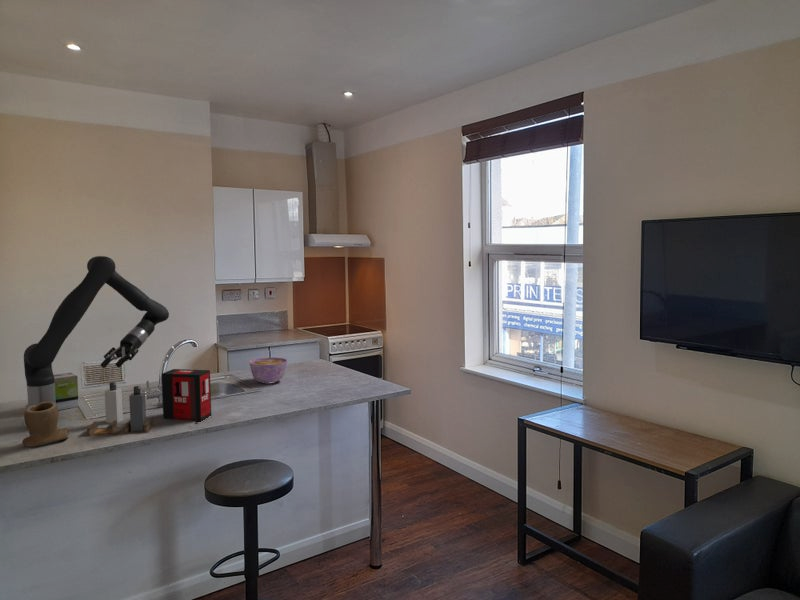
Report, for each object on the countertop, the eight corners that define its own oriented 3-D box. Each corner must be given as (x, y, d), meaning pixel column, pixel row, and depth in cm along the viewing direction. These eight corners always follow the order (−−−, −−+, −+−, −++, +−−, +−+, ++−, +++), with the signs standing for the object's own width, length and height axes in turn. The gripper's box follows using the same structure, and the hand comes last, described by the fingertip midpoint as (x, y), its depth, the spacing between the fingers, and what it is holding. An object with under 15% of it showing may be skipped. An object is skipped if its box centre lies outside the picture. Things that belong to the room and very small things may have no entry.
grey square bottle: (130, 431, 206) (128, 388, 205) (134, 427, 211) (132, 385, 209) (143, 431, 207) (141, 387, 206) (146, 427, 212) (144, 384, 210)
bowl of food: (241, 383, 286) (241, 361, 285) (270, 376, 302) (270, 355, 301) (267, 388, 275) (266, 366, 274) (295, 381, 291) (295, 360, 290)
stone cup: (25, 452, 188) (23, 410, 186) (20, 443, 196) (17, 403, 195) (75, 442, 198) (73, 402, 197) (68, 433, 207) (65, 395, 205)
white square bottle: (106, 425, 217) (104, 384, 215) (111, 421, 221) (109, 381, 220) (117, 425, 217) (115, 384, 215) (123, 421, 221) (121, 381, 220)
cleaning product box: (211, 416, 229) (209, 370, 227) (200, 422, 220) (199, 375, 218) (175, 414, 231) (173, 369, 229) (163, 421, 222) (161, 373, 221)
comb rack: (84, 439, 201) (84, 429, 200) (94, 430, 210) (93, 420, 210) (148, 435, 205) (147, 425, 205) (154, 427, 215) (154, 417, 214)
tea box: (40, 414, 231) (38, 380, 230) (34, 409, 238) (32, 377, 237) (79, 407, 242) (77, 374, 241) (72, 402, 249) (70, 371, 248)
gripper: (117, 333, 232) (91, 360, 220) (141, 332, 227) (116, 359, 215) (127, 346, 236) (102, 373, 224) (151, 345, 231) (127, 372, 219)
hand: (109, 366), depth 220 cm, fingers open, 8 cm apart
